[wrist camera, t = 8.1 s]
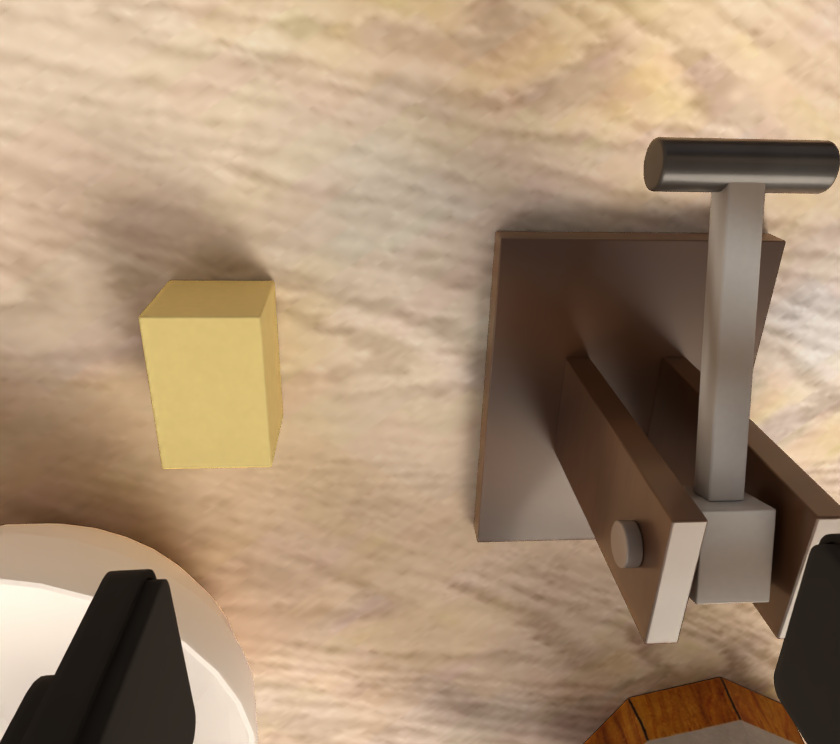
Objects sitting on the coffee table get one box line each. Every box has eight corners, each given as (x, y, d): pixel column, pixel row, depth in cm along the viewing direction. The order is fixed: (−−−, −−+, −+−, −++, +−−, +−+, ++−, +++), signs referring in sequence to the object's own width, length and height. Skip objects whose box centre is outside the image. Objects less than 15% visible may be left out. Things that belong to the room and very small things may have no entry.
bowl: (-68, 390, 27) (-203, 497, 21) (342, 550, 32) (337, 677, 26) (-161, 686, 34) (-288, 840, 27) (195, 782, 39) (160, 933, 32)
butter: (168, 279, 26) (137, 316, 23) (274, 280, 27) (260, 316, 23) (186, 417, 29) (161, 469, 25) (283, 416, 29) (271, 468, 25)
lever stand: (495, 230, 26) (583, 353, 16) (769, 233, 27) (1030, 351, 17) (473, 526, 32) (527, 760, 22) (699, 520, 33) (857, 743, 22)
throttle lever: (636, 145, 20) (673, 128, 18) (799, 149, 21) (855, 132, 18) (618, 571, 22) (648, 607, 20) (768, 567, 22) (815, 601, 20)
